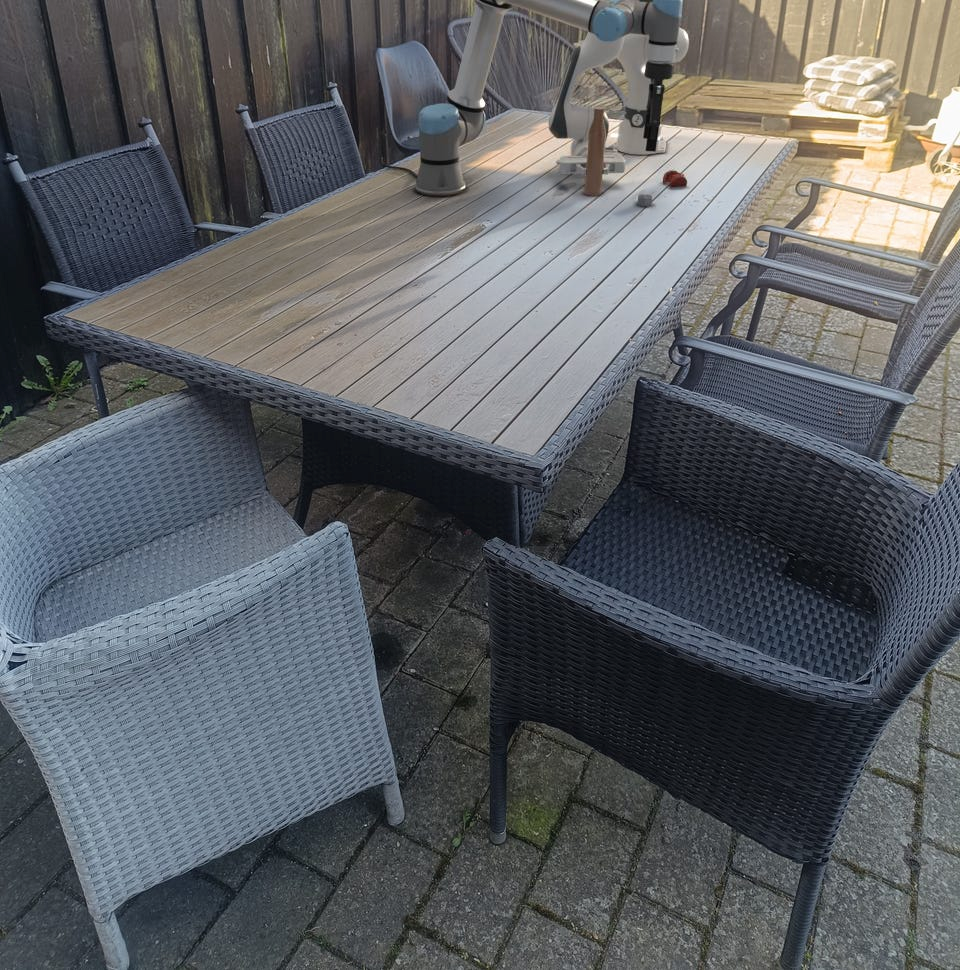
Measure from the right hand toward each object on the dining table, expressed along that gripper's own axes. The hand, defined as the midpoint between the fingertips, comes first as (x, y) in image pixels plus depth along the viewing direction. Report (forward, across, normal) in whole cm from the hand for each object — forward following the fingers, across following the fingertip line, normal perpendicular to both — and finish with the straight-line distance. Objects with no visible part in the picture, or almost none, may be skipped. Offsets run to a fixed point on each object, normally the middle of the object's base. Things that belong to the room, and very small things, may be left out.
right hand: (594, 171), depth 251 cm
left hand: (+10, +13, -10) cm, 20 cm away
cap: (+11, +14, +4) cm, 18 cm away
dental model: (-8, +27, +6) cm, 29 cm away
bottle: (-1, 0, +6) cm, 7 cm away
